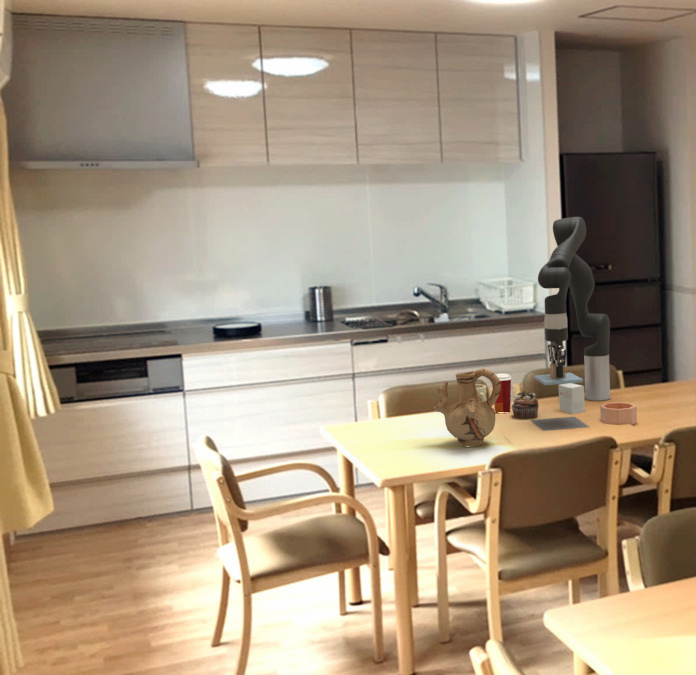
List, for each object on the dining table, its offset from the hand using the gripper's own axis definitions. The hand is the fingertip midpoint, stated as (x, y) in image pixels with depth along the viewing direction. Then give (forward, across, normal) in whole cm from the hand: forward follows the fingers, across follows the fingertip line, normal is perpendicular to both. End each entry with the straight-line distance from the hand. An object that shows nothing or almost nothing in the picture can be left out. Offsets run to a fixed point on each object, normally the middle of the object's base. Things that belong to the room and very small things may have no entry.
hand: (557, 375), depth 292 cm
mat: (+18, 0, 0) cm, 18 cm away
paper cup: (+18, -28, -13) cm, 36 cm away
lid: (+1, 0, 0) cm, 1 cm away
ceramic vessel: (+18, +13, -34) cm, 41 cm away
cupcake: (+18, -14, -8) cm, 24 cm away
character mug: (+18, -16, -25) cm, 35 cm away
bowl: (+18, +2, +20) cm, 27 cm away
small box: (+18, -17, +10) cm, 27 cm away
